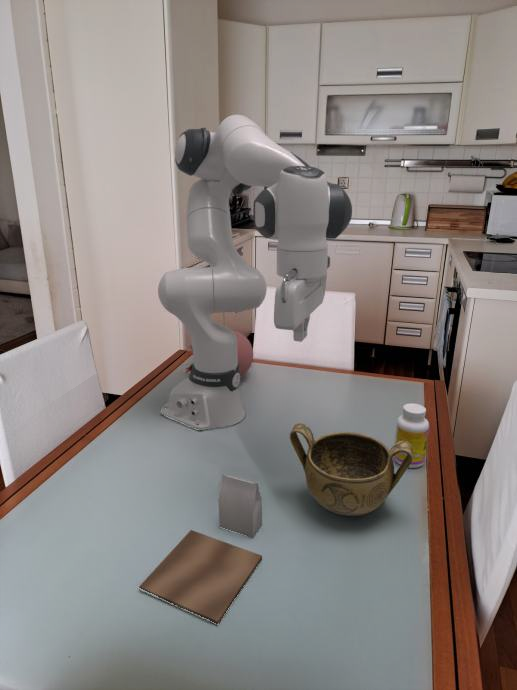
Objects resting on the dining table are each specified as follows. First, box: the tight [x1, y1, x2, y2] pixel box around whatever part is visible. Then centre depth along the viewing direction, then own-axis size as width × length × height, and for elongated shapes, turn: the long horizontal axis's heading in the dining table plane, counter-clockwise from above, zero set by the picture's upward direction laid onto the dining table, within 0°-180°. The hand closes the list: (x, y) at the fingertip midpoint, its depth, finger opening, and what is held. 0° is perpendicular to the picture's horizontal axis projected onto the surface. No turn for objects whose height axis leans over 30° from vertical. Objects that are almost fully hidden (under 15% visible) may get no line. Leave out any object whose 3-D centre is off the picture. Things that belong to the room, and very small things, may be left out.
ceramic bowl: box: [289, 422, 413, 517], centre depth 93 cm, size 22×17×15 cm
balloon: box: [189, 329, 254, 378], centre depth 151 cm, size 15×20×15 cm
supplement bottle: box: [393, 402, 430, 469], centre depth 106 cm, size 7×7×13 cm
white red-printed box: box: [217, 474, 263, 539], centre depth 87 cm, size 4×7×10 cm, turn 65°
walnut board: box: [139, 529, 263, 624], centre depth 78 cm, size 14×14×1 cm
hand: (300, 339), depth 91 cm, fingers closed
